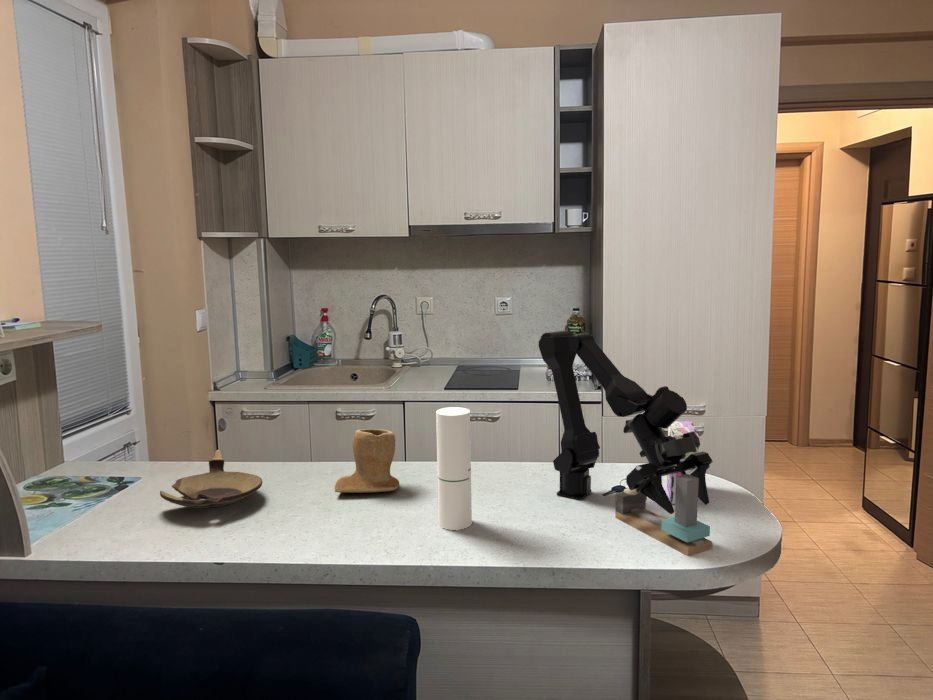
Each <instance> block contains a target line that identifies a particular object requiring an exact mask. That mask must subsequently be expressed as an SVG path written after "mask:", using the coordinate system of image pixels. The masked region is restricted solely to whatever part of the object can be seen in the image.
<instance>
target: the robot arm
mask: <svg viewBox="0 0 933 700" xmlns="http://www.w3.org/2000/svg"><path fill="white" fill-rule="evenodd" d="M538 349H539V352H540V355H541V358H542V360H543V362H544V364H546V365H547V367H548V368H549V369H550V370H551V373H552V378H553V382H554V386H555V391H556V395H557V400H558V405H559V410H560V414H561V421H562V425H563V434H562V437H561V440H560V449H561V450H560V451H561V452H560V453H559V454H558V455H557V456H556V458H554V459H553V461H552V462H553V468H554V470H555V471H558V472H559V490H558V491H557V492H556V496H561V497H566V498H571V499H575V500H583V499H585V498H586V497H587V496H588V495H589V494H591V493H592V489H591V488H592V485H591V484H592V476H591V475H590V469H594V468H595V465H596V462H597V461H598V458H599V457H600V449H601V446H600V445H599V442H598V435H597V433H596V431H591V430H589V428H588V427H587V426H586V421H585V419H584V418H585V417H584V414H583V413H584V412H583V409H582V405H581V398H580V394H579V390H578V386H577V380H576V377H575V372H574V363H575V359H576V356H578V357H579V359H580V360H581V362H582V363H584V365H585V366H586V368H587V369H588V370H589V372H590V373H591V374H592V375H593V376H594V378H595V379H596V381H597V382H598V383H599V384H600V386H602V388H603V389H604V393H605V401H606V403H607V404H608V405H609V408H610V409H611V411H612V412H613V414H614V415H615V416H617V417H620V418H625V417H629V416H633V415H635V416H634V417H633V418H632V419H627V420H625V423H624V424H625V425H624V427H623V434H629V433H630V434H631V433H632V434H633V436H634V438H635V439H636V441H637V443H638V446H639V447H640V449H641V450H640V452H639V455H640V456H639V457H641V458H644V457H645V458H646V460H647V461H648V462H647V463H642V464H639V465H636V466H635V467H634V468H633V469H632V470H631V471H630V472H629V473H628V474H627V475H626V477H625V480H626V485H627V486H628V487H627V488H629V489H630V490H634V489H637V490H636V492H637V493H639V492H640V493H642V494H643V495H645V496H646V498H648V499H650V500H651V501H653V502H654V503H655V504H657V505H658V506H659V507H661V509H663V510H664V511H666V512H667V513H668V514H670V515H673V514H675V508H674V506H673V504H671V501H670V497H669V495H668V493H667V492H666V490H665V489H664V486H663V479H662V477H665V476H667V475H670V474H674V473H679V472H681V474H682V475H685V474H689V475H692V476H694V477H697V478H699V484H698V500H700V501H701V502H702V503H703V505H705V506H707V505H709V504H710V499H709V493H708V488H707V482H706V480H707V479H706V474H707V471H708V469H710V466H711V464H712V463H713V460H712V458H711V455H710V454H709V453H708V452H706V451H700V452H699V451H698V453H694V454H691V455H690V456H689V457H687V458H686V459H685V460H684V461H683V462H680V460H681V459H683V458H684V457H685V456H686V455H685V454H686V453H689V452H697V450H696V447H700V446H701V441H700V437H699V438H698V436H699V435H698V436H697V435H696V434H695V432H689V433H685V434H683V438H680V439H676V440H674V438H673V437H671V436H668V435H666V432H665V431H664V429H668V427H669V426H670V425H671V424H672V423H674V422H675V421H678V419H679V418H680V417H681V416H683V414H684V413H686V411H687V409H688V405H687V402H686V400H685V399H684V397H683V396H681V395H680V394H678V393H677V392H675V391H673V390H670V388H669V387H668V386H665V385H664V386H661V387H659V388H657V390H656V392H655V393H654V394H653V395H651V394H649V393H647V391H646V390H645V389H644V388H643V387H641V385H639V384H638V383H637V382H636V381H634V380H632V379H630V378H628V377H626V376H624V375H623V374H622V373H621V372H620V370H619V369H618V367H616V366H615V364H614V363H613V362H612V360H611V359H610V358H609V357H608V356H607V355H606V353H605V352H604V351H603V349H601V347H600V346H599V345H598V344H597V343H596V341H595V338H594V336H593V335H592V334H590V333H587V332H586V333H574V334H573V333H572V332H570V331H568V330H557V331H549V332H544V333H542V335H541V336H540V339H539V340H538ZM673 468H675V469H673Z"/></svg>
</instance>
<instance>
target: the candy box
mask: <svg viewBox="0 0 933 700" xmlns="http://www.w3.org/2000/svg"><path fill="white" fill-rule="evenodd" d="M689 432H695V434H696V435H697V436H698V438H699V439H700V436H699V434H698V432H697V429H696V427H695V424H694V423H693V421H689V420H688V421H685V420H676V421H675V422H674V423H672V424H671V425H670V426H669V427H668V428H667V436H671V437H673V438H674V440H676V439H680V438H683V434H685V433H689ZM699 447H700V446H699ZM699 447H696V450H697V452H689V453H686V454H685V455H686V456H685V457H684V458H683V459H681V460H680V462H683V461H684V460H685V459H686V458H687V457H689V456H690V455H691V454H694V453H698V452H699V451H700V450H699ZM673 469H675V468H673ZM680 475H682V474H681V472H679V473H674V474H670V475H666V487H667V491H668V497H669V500H670V502H671V504H672V505H675V493H676V476H680Z"/></svg>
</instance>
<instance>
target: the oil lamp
mask: <svg viewBox="0 0 933 700" xmlns="http://www.w3.org/2000/svg"><path fill="white" fill-rule="evenodd" d="M224 466H225V460H224V458H223V452H222V450H220V449H217V450H215V452H214V456H213V457H212V459H209V461H208V467H209V468H208V469H209V470H208V471H209V472H204V473H200V474H196V475H189V476H185V477H181V478H179V479H177V480H176V481H175V483H174V484H171V488H172V489H174V490H175V491H176V492H178V493H179V494H180V495H182V496H183V497H185V498H183V497H180V496H175V495H172V494H170V493H168V492H165V491H163V490H160V491H159V495H160V497H161V498H162V499H164V501H167V502H169V503H172V504H175V505H178V506H180V507H181V506H182V507H187V508H193V509H195V508H196V509H197V508H198V509H207V508H208V509H210V508H211V509H212V508H219V507H224V506H228V505H231V504H233V503H236V502H238V501H240V500H242V499H244V498H246V497H248V496H249V495H252V494H254V493H255V492H256V491H258V490H259V489H260V488H262V486H263V479H262V478H261V477H260V476H259V475H257V474H253V473H247V472H241V471H225V470H224ZM199 497H202V498H203V499H200V498H199Z"/></svg>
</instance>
